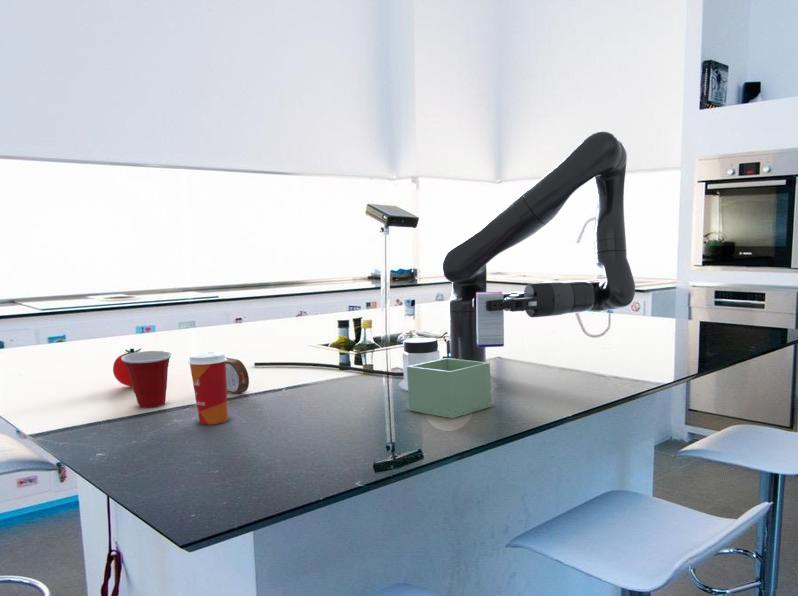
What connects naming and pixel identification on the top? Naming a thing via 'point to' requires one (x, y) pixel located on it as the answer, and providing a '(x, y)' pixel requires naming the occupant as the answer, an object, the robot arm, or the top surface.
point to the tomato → (122, 369)
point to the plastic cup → (148, 376)
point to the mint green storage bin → (449, 387)
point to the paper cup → (210, 386)
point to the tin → (236, 376)
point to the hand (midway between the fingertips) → (479, 304)
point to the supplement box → (489, 321)
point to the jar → (418, 353)
